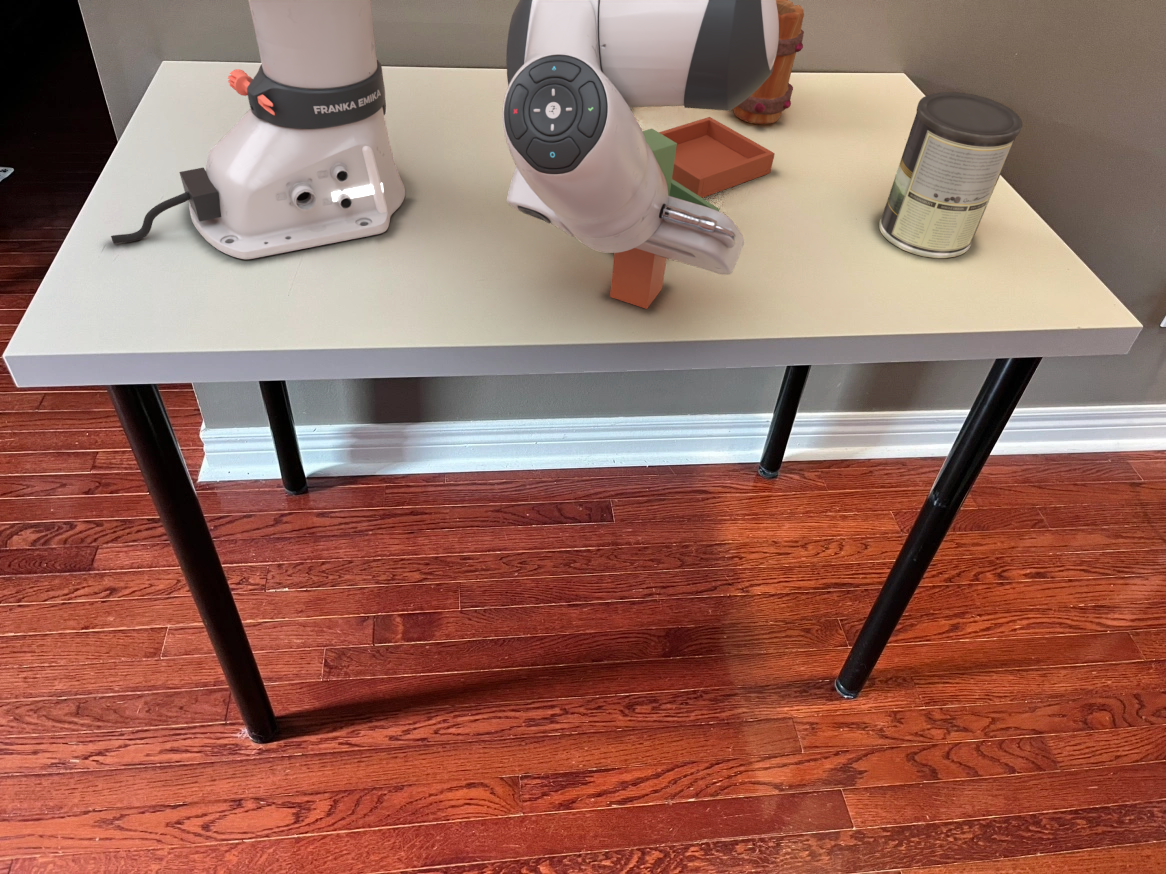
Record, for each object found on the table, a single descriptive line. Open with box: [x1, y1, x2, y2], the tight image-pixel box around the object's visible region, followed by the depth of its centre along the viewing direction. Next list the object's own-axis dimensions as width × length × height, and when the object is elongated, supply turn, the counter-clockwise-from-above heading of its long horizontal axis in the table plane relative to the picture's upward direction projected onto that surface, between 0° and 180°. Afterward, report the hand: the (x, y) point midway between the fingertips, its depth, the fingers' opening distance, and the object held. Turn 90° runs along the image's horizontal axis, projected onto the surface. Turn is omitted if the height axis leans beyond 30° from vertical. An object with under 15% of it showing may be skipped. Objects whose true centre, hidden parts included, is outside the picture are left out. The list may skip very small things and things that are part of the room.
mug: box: [733, 0, 805, 125], centre depth 115 cm, size 15×8×15 cm, turn 168°
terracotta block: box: [609, 248, 668, 310], centre depth 84 cm, size 4×4×10 cm
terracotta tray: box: [658, 116, 776, 199], centre depth 106 cm, size 12×11×3 cm
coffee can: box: [878, 91, 1023, 259], centre depth 94 cm, size 10×10×14 cm
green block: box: [642, 128, 677, 196], centre depth 93 cm, size 4×4×9 cm
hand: (644, 242), depth 84 cm, fingers closed on terracotta block, 4 cm apart
